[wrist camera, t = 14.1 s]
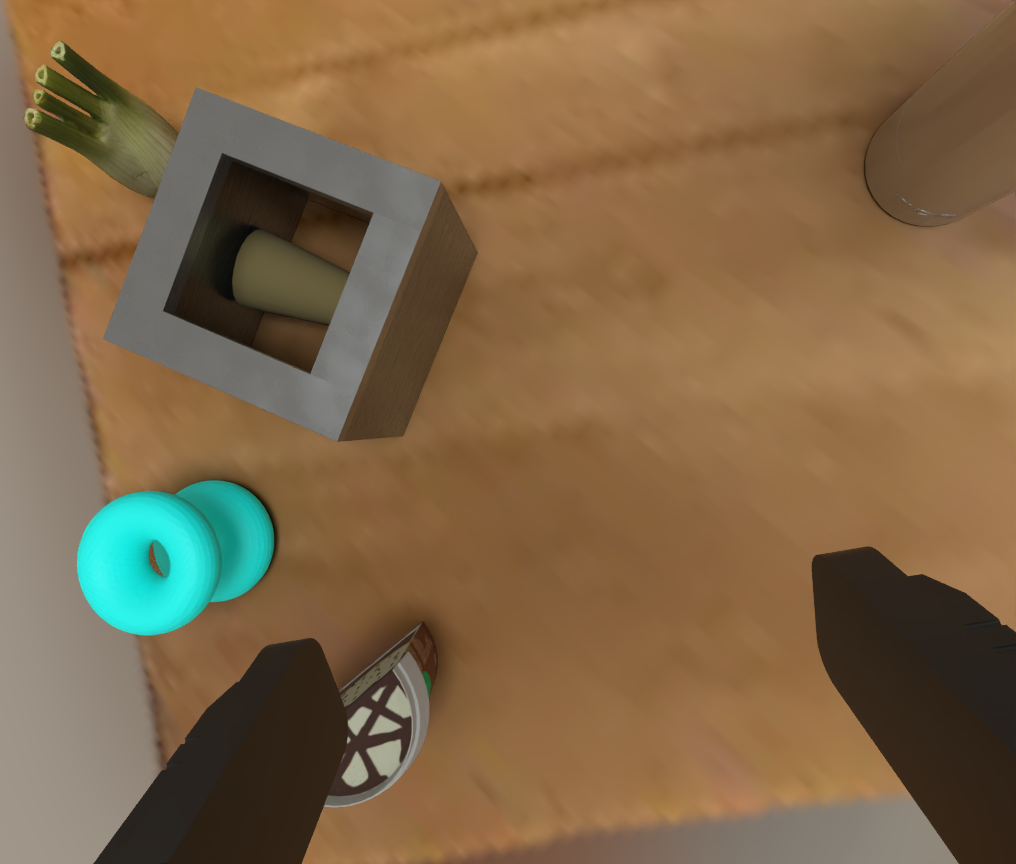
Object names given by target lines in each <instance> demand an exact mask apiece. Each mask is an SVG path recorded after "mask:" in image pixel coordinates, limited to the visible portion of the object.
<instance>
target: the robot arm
mask: <svg viewBox="0 0 1016 864" xmlns="http://www.w3.org/2000/svg"><path fill="white" fill-rule="evenodd" d="M865 175H866V179H867V183H868V187H869V189H870V191H871V193H872V195H873V197H874V199H875V200H876V201H877V202H878V204H879V205H880V206H881V207H882V209H884V210H885V211H886V212H888V213H889V214H890V215H891V216H893V217H895V218H897V219H899V220H901V221H903V222H905V223H909V224H913V225H917V226H938V225H944V224H948V223H951V222H954V221H956V220H959V219H961V218H963V217H965V216H967V215H969V214H971V213H973V212H975V211H977V210H979V209H981V208H983V207H985V206H987V205H989V204H990V203H992V202H994V201H996V200H998V199H1000V198H1003V197H1005V196H1007V195H1008V194H1010V193H1012V192H1014V191H1016V0H1013V1H1012V2H1011V3H1010V4H1009V5H1008V6H1007V7H1005V8H1004V9H1003V10H1002V11H1001V12H1000V13H999V14H998V15H997V16H996V17H995V18H994V19H993V20H992V21H991V22H990V23H988V24H987V25H986V26H985V27H984V28H983V29H982V30H981V31H980V32H979V33H978V34H977V35H976V36H975V37H974V38H973V39H971V40H970V41H969V42H968V43H967V44H966V45H965V46H964V47H963V48H962V49H961V50H960V51H959V52H958V53H957V54H956V55H954V56H953V57H952V58H951V59H950V60H949V61H948V62H947V63H946V64H945V65H944V66H943V67H942V68H941V69H940V70H939V71H937V72H936V73H935V74H934V75H933V76H932V77H931V78H930V79H929V80H928V81H927V82H926V83H925V84H924V85H923V86H921V87H920V88H919V89H918V90H917V91H916V92H915V93H914V94H913V95H912V96H911V97H910V98H909V99H908V100H907V101H906V102H905V103H904V104H903V105H901V106H900V107H899V108H898V109H897V110H896V111H895V112H894V113H893V114H892V115H891V116H890V117H889V118H888V119H887V120H886V121H885V122H883V123H882V125H881V126H880V127H879V129H878V130H877V131H876V133H875V134H874V136H873V138H872V140H871V142H870V144H869V147H868V150H867V155H866V159H865ZM812 580H813V593H814V606H815V619H816V633H817V643H818V648H819V652H820V655H821V658H822V661H823V664H824V667H825V669H826V671H827V673H828V675H829V677H830V679H831V681H832V683H833V684H834V686H835V687H836V689H837V690H838V692H839V693H840V694H841V696H842V697H843V699H844V700H845V702H846V703H847V704H848V706H849V707H850V709H851V710H852V712H853V713H854V714H855V716H856V717H857V719H858V720H859V722H860V723H861V724H862V726H863V727H864V729H865V730H866V732H867V733H868V734H869V736H870V737H871V739H872V740H873V742H874V743H875V744H876V746H877V747H878V749H879V750H880V752H881V753H882V754H883V756H884V757H885V759H886V760H887V762H888V763H889V764H890V766H891V767H892V769H893V770H894V772H895V773H896V774H897V776H898V777H899V779H900V780H901V782H902V783H903V784H904V786H905V787H906V789H907V790H908V792H909V793H910V794H911V796H912V797H913V799H914V800H915V802H916V803H917V804H918V806H919V807H920V809H921V810H922V812H923V813H924V814H925V816H926V817H927V819H928V820H929V821H930V823H931V824H932V826H933V827H934V829H935V830H936V831H937V833H938V834H939V836H940V837H941V838H942V840H943V841H944V843H945V844H946V846H947V847H948V849H949V850H950V851H951V853H952V854H953V856H954V857H955V859H956V860H957V862H958V863H959V864H1016V632H1015V631H1013V630H1012V629H1011V628H1010V627H1008V626H1007V625H1001V623H1000V621H999V619H998V618H997V617H995V616H994V615H993V614H992V613H990V612H989V611H988V610H986V609H985V608H984V607H983V606H981V605H980V604H979V603H977V602H976V601H975V600H974V599H972V598H971V597H970V596H968V595H967V594H966V593H964V592H962V591H959V590H957V589H955V588H952V587H950V586H948V585H946V584H943V583H941V582H939V581H937V580H934V579H932V578H930V577H927V576H925V575H923V574H921V575H914V576H907V575H906V574H904V573H903V572H902V571H901V570H900V569H899V568H897V567H896V566H895V565H894V564H893V563H892V562H890V561H889V560H888V559H887V558H886V557H885V556H883V555H882V554H881V553H880V552H879V551H877V550H876V549H875V548H872V547H862V548H856V549H850V550H844V551H838V552H832V553H826V554H820V555H816V556H815V557H814V558H813V561H812ZM347 739H348V718H347V713H346V709H345V706H344V704H343V701H342V699H341V696H340V693H339V691H338V688H337V686H336V683H335V681H334V678H333V676H332V673H331V670H330V668H329V665H328V663H327V660H326V658H325V655H324V652H323V650H322V648H321V646H320V644H319V643H318V642H317V641H316V640H315V639H313V638H308V639H302V640H296V641H290V642H284V643H278V644H272V645H268V646H266V647H264V648H263V649H262V650H261V652H260V653H259V654H258V656H257V657H256V659H255V660H254V661H253V663H252V664H251V666H250V667H249V668H248V670H247V671H246V673H245V674H244V676H243V677H242V678H241V680H240V681H239V682H236V683H235V684H234V685H233V686H232V687H231V688H229V689H228V690H227V691H226V692H225V693H224V694H223V695H222V696H221V697H219V698H218V699H217V700H216V701H215V702H214V703H213V704H212V705H210V706H209V707H208V708H207V709H206V711H205V712H204V713H203V715H202V716H201V717H200V719H199V720H198V722H197V723H196V724H195V726H194V727H193V728H192V730H191V731H190V732H189V734H188V735H187V737H186V738H185V740H186V741H185V744H181V745H180V746H179V747H178V749H177V750H176V752H175V753H174V754H173V756H172V757H171V758H170V760H169V761H168V763H167V768H166V770H162V771H161V772H160V773H159V775H158V776H157V778H156V779H155V780H154V782H153V783H152V784H151V786H150V787H149V789H148V790H147V791H146V793H145V794H144V795H143V797H142V798H141V800H140V801H139V802H138V804H137V805H136V806H135V808H134V809H133V811H132V812H131V813H130V814H129V816H128V817H127V819H126V820H125V821H124V823H123V824H122V826H121V827H120V828H119V829H118V831H117V832H116V834H115V835H114V836H113V838H112V839H111V841H110V842H109V843H108V845H107V846H106V847H105V849H104V850H103V851H102V853H101V854H100V855H99V857H98V858H97V860H96V861H95V862H94V864H301V863H302V861H303V858H304V856H305V853H306V851H307V848H308V845H309V843H310V840H311V838H312V835H313V832H314V830H315V827H316V825H317V822H318V820H319V817H320V814H321V812H322V809H323V807H324V804H325V802H326V799H327V796H328V794H329V791H330V789H331V786H332V784H333V781H334V778H335V776H336V773H337V771H338V768H339V765H340V763H341V760H342V758H343V755H344V752H345V749H346V745H347Z"/></svg>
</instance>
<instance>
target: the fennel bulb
mask: <svg viewBox="0 0 1016 864" xmlns="http://www.w3.org/2000/svg"><path fill="white" fill-rule="evenodd" d="M50 56H51V57H52V58H53V59H54V60H55V61H56V62H58V63H59V64H60V65H61V66H63V67H64V68H65V69H66V70H67V71H69V72H70V73H71V74H72V75H73V76H75V77H76V78H77V79H79V80H80V81H81V82H82V83H84V84H85V85H86V86H88V87H89V88H90V89H91V90H93V91H94V92H95V93H96V94H97V96H96V95H94V94H92V93H91V92H89V91H87V90H86V89H84V88H82V87H81V86H79V85H77V84H75V83H74V82H72V81H70V80H69V79H67V78H65V77H64V76H62V75H60V74H59V73H57V72H56V71H54V70H52V69H51V68H49V67H48V66H46V65H42V66H41V67H40V68H38V70H37V71H36V73H35V82H36V83H38V84H40V85H41V86H43V87H45V88H47V89H48V90H50V91H52V92H53V93H54V94H56V95H58V96H60V97H62V98H64V99H66V100H68V101H69V102H71V103H73V104H74V105H76V106H78V107H79V108H81V109H83V110H84V111H86V112H88V113H89V114H90V116H91V118H90V117H88V116H87V115H85V114H83V113H82V112H79V111H78V110H76V109H74V108H72V107H70V106H68V105H67V104H65V103H63V102H62V101H60V100H58V99H56V98H55V97H53V96H51V95H50V94H48V93H47V92H45V91H44V90H38V89H36V90H35V91H34V93H33V101H34V102H35V103H36V105H38V106H39V107H41V108H42V109H45V110H46V111H48V112H50V113H52V114H54V115H56V116H57V117H59V118H60V119H61V121H60V120H58V119H55V118H53V117H51V116H49V115H47V114H45V113H43V112H41V111H38V110H37V109H30V108H29V109H27V110H26V113H25V115H24V120H25V123H26V126H27V127H28V129H30V130H32V131H34V132H37V133H39V134H42V135H44V136H46V137H48V138H51V139H52V140H54V141H57V142H59V143H61V144H63V145H65V146H67V147H69V148H71V149H73V150H75V151H76V152H78V153H80V154H81V155H83V156H85V157H86V158H88V159H89V160H90V161H91V162H93V163H94V164H95V165H96V166H98V167H99V168H100V169H101V170H103V171H104V172H105V173H106V174H107V175H109V176H110V177H111V178H113V179H114V180H116V181H118V182H119V183H121V184H122V185H124V186H126V187H127V188H129V189H131V190H133V191H135V192H137V193H140V194H142V195H146V196H148V197H156V194H157V191H158V189H159V186H160V183H161V180H162V178H163V175H164V172H165V170H166V167H167V164H168V162H169V159H170V156H171V153H172V151H173V148H174V145H175V143H176V140H177V137H178V133H177V132H176V131H175V130H174V128H173V127H172V126H171V125H170V124H169V123H168V122H167V121H166V120H165V119H164V118H163V117H162V116H161V115H160V114H158V113H157V112H156V111H155V110H154V109H153V108H152V107H150V106H149V105H148V104H146V103H145V102H144V101H142V100H141V99H139V98H138V97H136V96H134V95H133V94H131V93H130V92H129V91H127V90H125V89H124V88H122V87H121V86H120V85H118V84H117V83H115V82H114V81H112V80H111V79H110V78H108V77H107V76H105V75H104V74H102V73H101V72H99V71H98V70H97V69H96V68H95V67H93V66H92V65H91V64H89V63H88V62H87V61H86V60H84V59H83V58H82V57H81V56H79V55H78V54H77V53H76V52H75V51H73V50H72V49H71V48H70V47H69V46H68V45H66V44H65V43H64V42H62V41H59V42H57V43H56V45H54V46H53V47H52V49H51V52H50Z"/></svg>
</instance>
